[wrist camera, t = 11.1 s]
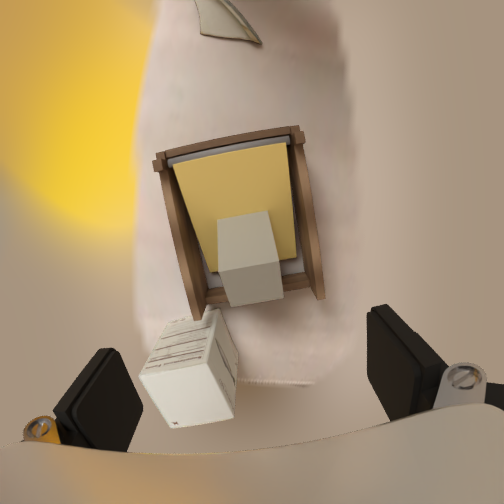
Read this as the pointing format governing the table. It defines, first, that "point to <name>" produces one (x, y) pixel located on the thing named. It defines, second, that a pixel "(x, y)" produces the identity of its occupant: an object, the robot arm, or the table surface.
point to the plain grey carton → (248, 259)
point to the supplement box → (193, 371)
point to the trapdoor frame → (187, 237)
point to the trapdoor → (238, 191)
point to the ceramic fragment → (224, 20)
